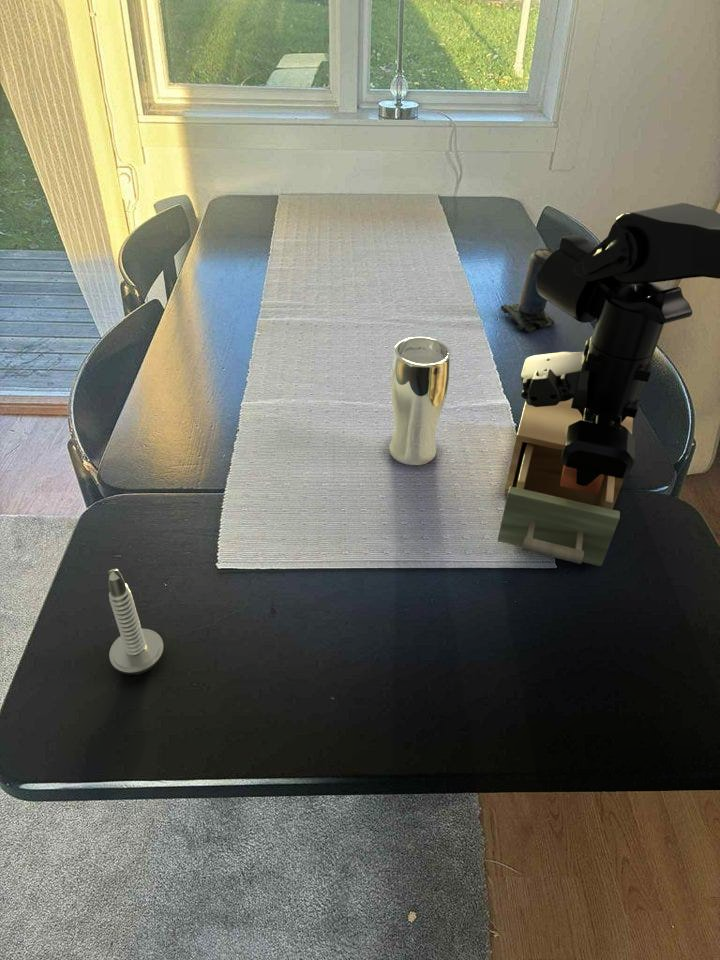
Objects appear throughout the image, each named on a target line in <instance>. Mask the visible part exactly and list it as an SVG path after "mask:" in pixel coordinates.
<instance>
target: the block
mask: <svg viewBox="0 0 720 960" xmlns="http://www.w3.org/2000/svg"><path fill="white" fill-rule="evenodd" d="M576 473H577V469H575V468H570V467H566V466H565V465H564V464H563V469H562V475H561V481H560V486H563V487H567V488H572V489H576V490H581V491H585V492H589V493H594V494H598V492H599V489H600V486H601V483H602V480H603V477H604V475H602V474H601V475H599V476H598V477H597V478H596V479H595V480H593V481H592V482H591V483H590V484H588V485H587V486H582V485H578V484H577V483H576Z"/></svg>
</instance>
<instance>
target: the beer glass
mask: <svg viewBox="0 0 720 960" xmlns="http://www.w3.org/2000/svg"><path fill="white" fill-rule="evenodd" d="M451 353H452V352H451V349H450V348H449V347H448V345H446V343H444V342H442V341H440V340H438V339H436V338H431V337H425V336H415V337H414V336H413V337H408V338H405V339H403V340H401V341H399V342H398V343H397V344H396V345H395V346H394V353H393V361H392V366H391V372H390V373H391V374H390V399H391V408H392V415H393V433H392V434H393V435H392V437H391V440H390V443H389V452H390V455H391V457H392V458H393V459H394V460H395V461H397V462H398V463H401V464H404V465H407V466H422V465H425V464H428V463H430V462H431V461H433V460H434V458H435V457H436V454H437V443H436V431H437V426H438V423H439V420H440V417H441V415H442V411H443V409H444V407H445V402H446V398H447V395H448V389H449V385H450V384H449V381H450V372H451V371H450V369H451Z"/></svg>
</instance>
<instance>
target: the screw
mask: <svg viewBox="0 0 720 960" xmlns="http://www.w3.org/2000/svg"><path fill="white" fill-rule="evenodd" d="M107 572H108V589H109V592H108V598H109V599H108V601H109V604H110V607H111V610H112V612H113V616H114V619H115V622H116V625H117V629H118V632H119V635H120V636H118V637H117V638H116V639H115V640H114V642H113V643H112V644H111V647H110V649H109V653H108V657H109V661H110V664H111V666H112V667H113V668H114V670H115V671H117V672H119V673H121V674H124V675H135V676H139V675H141V674H144V673H147V672H148V671H151V670H152V668H154V667H155V666H156V665H157V664H158V663H159V661H160V660H161V659H162V657H163V654H164V652H165V651H164V650H165V646H164V641H163V638H162V637H161V636H160V634H158V633H157V632H156V631H155V630H152V629H148V628H142V625H141V622H140V619H139V618H140V617H139V615H138V614H139V613H138V612H137V608H136V604H135V600H134V598H133V594H132V591H131V589H130V587H129V585H128V584H127V583H126V582H125V579H124V576H123V575H122V573H121V572H120V570H119V569H118V568H112V569H110V570H108V571H107Z"/></svg>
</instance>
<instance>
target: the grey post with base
mask: <svg viewBox="0 0 720 960" xmlns="http://www.w3.org/2000/svg"><path fill="white" fill-rule="evenodd" d="M553 252H554V251H553V250H551V249H547V248H537V249H535V250H534V252H533V253H532V254H531V255H530V256H529V261H528V265H527V269H526V272H525V276H524V277H525V278H524V281H523V285H522V290H521V295H520V299H519V302H518V303H516V304H507V303H506V304H502V305H501V306H500V311H502V312H503V313H504V314H508V315H509V316H511V318H512V319H513V322H514V323H515V324H517V325H516V326H517V329H518V330H525V331H526V332H528V333H531V332H534V331H536V328H537V327H536V326H535V325H534V324H538V325H539V327H540V328H547V327H549V326H553V325H555V321H554V319H553V317H551V316H550V315H549V314H548V313H547V312H546V311H545V309H546V306H547V302H548V301H547V300H545V299H544V298H542V297H541V296H540V295H539V294H538V292H537V289H536V277H537V273H538V271H539V270H541V268H542V266H543V264H544V263H545V261H546V260H547V258H548V257H549V256H550V255H551V254H552V253H553Z"/></svg>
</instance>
